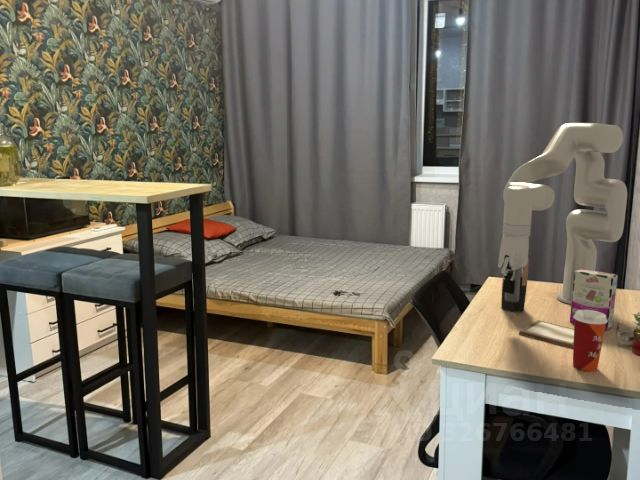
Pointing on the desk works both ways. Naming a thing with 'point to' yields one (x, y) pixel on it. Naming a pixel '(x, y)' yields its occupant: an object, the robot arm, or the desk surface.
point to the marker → (515, 296)
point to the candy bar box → (594, 293)
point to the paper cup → (588, 339)
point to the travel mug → (522, 294)
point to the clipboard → (550, 333)
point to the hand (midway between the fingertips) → (512, 290)
